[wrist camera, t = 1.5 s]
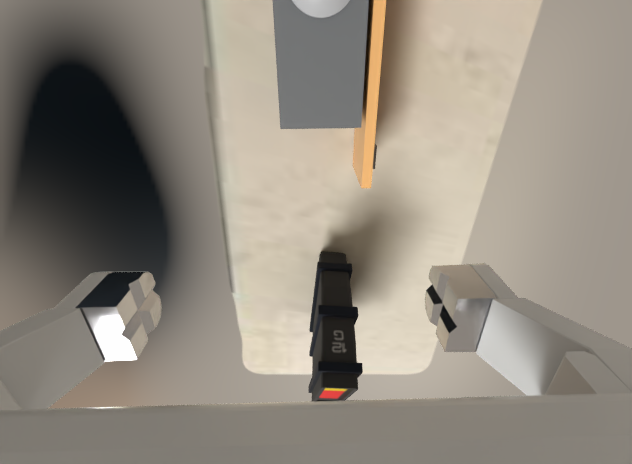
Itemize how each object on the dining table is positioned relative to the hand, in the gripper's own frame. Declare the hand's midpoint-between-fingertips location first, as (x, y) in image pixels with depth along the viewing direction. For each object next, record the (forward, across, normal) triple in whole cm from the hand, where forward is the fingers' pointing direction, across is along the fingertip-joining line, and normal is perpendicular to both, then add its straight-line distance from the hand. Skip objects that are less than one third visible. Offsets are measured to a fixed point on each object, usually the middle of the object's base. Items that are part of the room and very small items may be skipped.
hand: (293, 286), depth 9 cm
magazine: (+25, -2, +20) cm, 32 cm away
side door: (+23, -6, -7) cm, 25 cm away
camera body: (+24, -2, -9) cm, 25 cm away
